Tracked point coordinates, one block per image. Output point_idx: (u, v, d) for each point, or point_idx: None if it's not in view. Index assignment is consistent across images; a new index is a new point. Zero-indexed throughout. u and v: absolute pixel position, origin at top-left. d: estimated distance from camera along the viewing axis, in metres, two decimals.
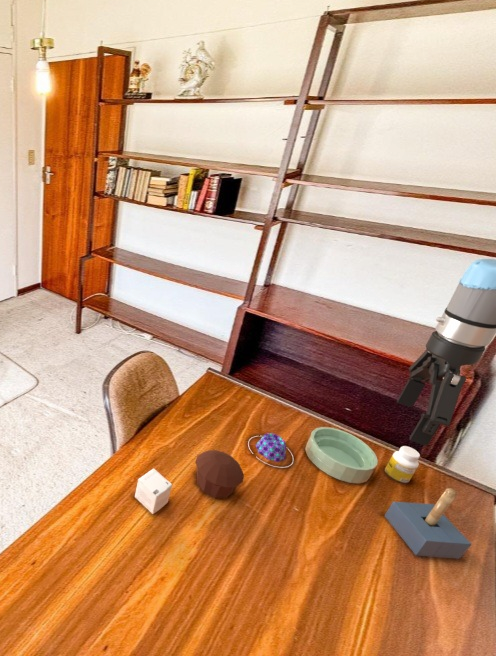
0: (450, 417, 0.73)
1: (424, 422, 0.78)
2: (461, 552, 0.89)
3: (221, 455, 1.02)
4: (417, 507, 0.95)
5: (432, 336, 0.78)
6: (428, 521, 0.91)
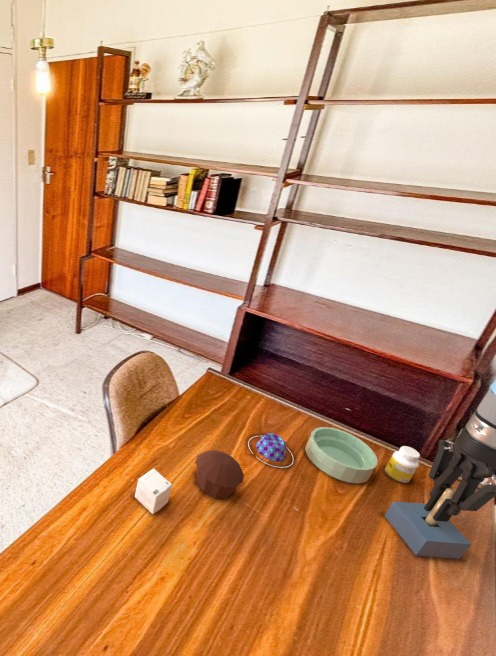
0: (479, 507, 0.83)
1: (448, 506, 0.87)
2: (461, 552, 0.89)
3: (221, 455, 1.02)
4: (417, 507, 0.95)
5: (469, 441, 0.81)
6: (428, 521, 0.91)
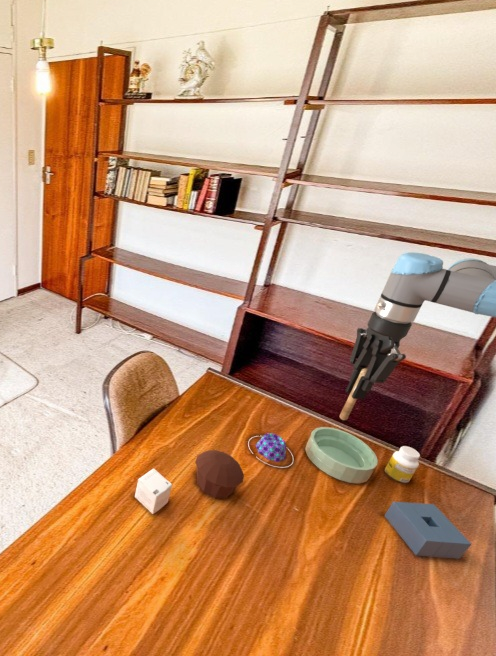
0: (385, 379, 0.96)
1: (363, 383, 1.00)
2: (461, 552, 0.89)
3: (221, 455, 1.02)
4: (417, 507, 0.95)
5: (375, 319, 0.94)
6: (348, 401, 1.05)
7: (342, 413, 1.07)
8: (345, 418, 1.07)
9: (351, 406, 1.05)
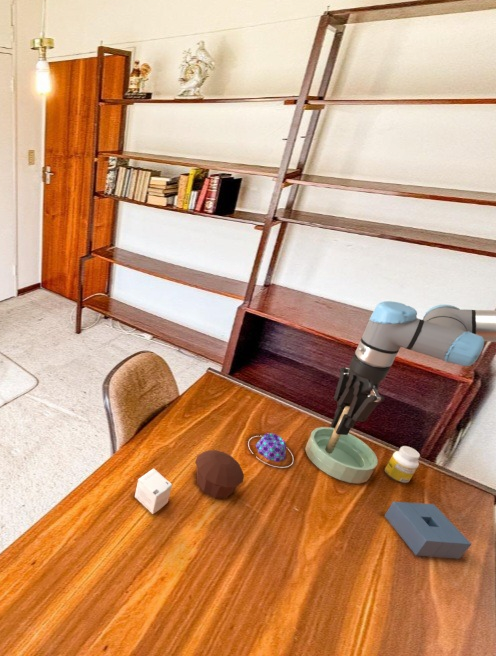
0: (366, 418, 1.02)
1: (346, 420, 1.06)
2: (461, 552, 0.89)
3: (221, 455, 1.02)
4: (417, 507, 0.95)
5: (356, 362, 1.00)
6: (333, 436, 1.10)
7: (328, 447, 1.12)
8: (330, 452, 1.12)
9: (335, 441, 1.10)
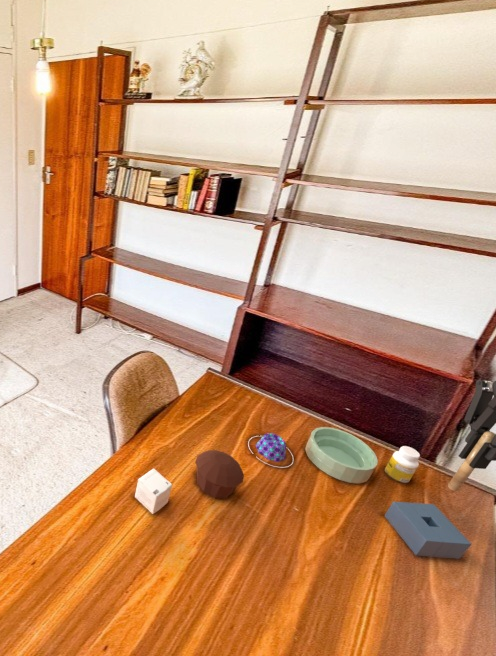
0: None
1: (487, 450, 0.80)
2: (461, 552, 0.89)
3: (221, 455, 1.02)
4: (417, 507, 0.95)
5: None
6: (463, 469, 0.84)
7: (453, 482, 0.86)
8: (457, 489, 0.86)
9: (466, 476, 0.84)
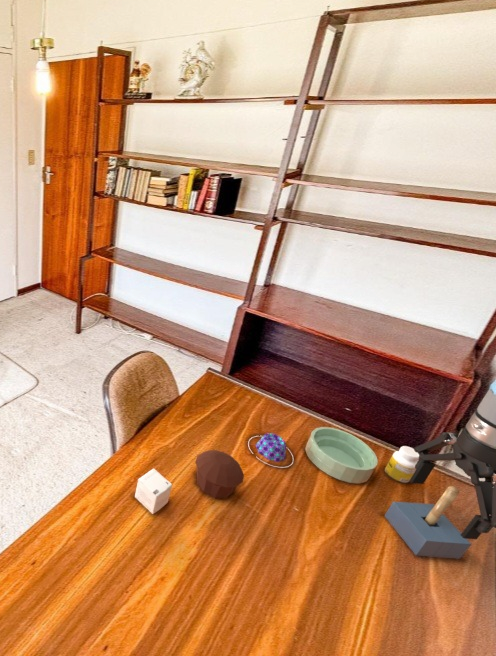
0: None
1: (478, 522, 0.81)
2: (461, 552, 0.89)
3: (221, 455, 1.02)
4: (417, 507, 0.95)
5: (469, 440, 0.81)
6: (428, 520, 0.92)
7: None
8: None
9: (431, 526, 0.92)
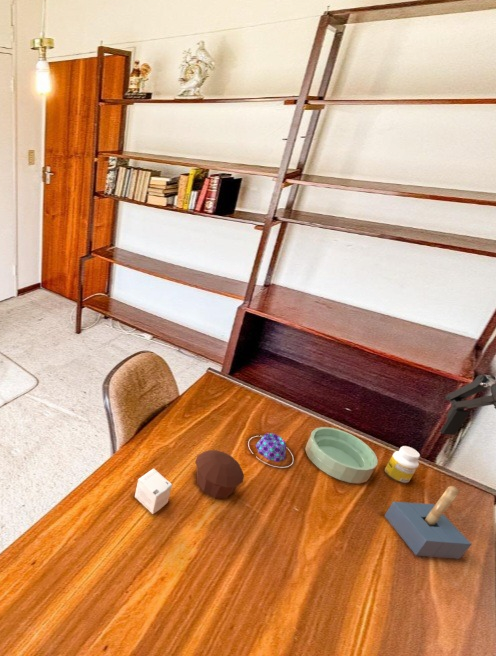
0: None
1: None
2: (461, 552, 0.89)
3: (221, 455, 1.02)
4: (417, 507, 0.95)
5: None
6: (428, 520, 0.92)
7: None
8: None
9: (431, 526, 0.92)
